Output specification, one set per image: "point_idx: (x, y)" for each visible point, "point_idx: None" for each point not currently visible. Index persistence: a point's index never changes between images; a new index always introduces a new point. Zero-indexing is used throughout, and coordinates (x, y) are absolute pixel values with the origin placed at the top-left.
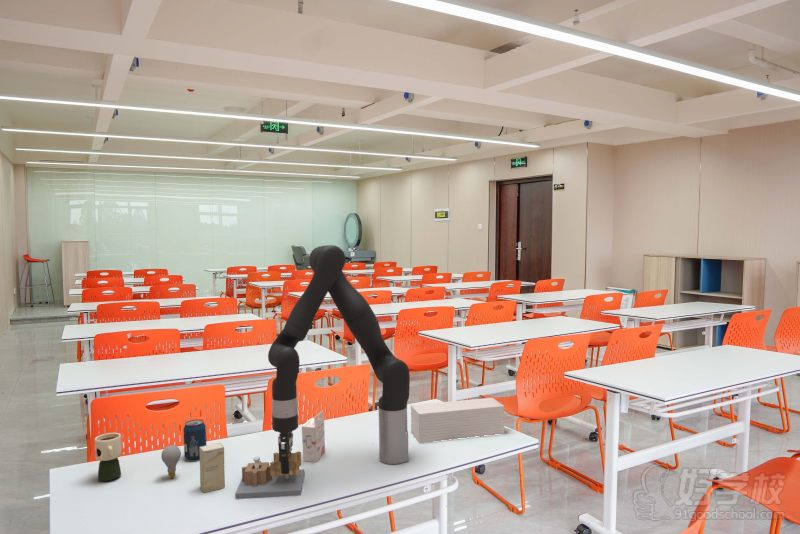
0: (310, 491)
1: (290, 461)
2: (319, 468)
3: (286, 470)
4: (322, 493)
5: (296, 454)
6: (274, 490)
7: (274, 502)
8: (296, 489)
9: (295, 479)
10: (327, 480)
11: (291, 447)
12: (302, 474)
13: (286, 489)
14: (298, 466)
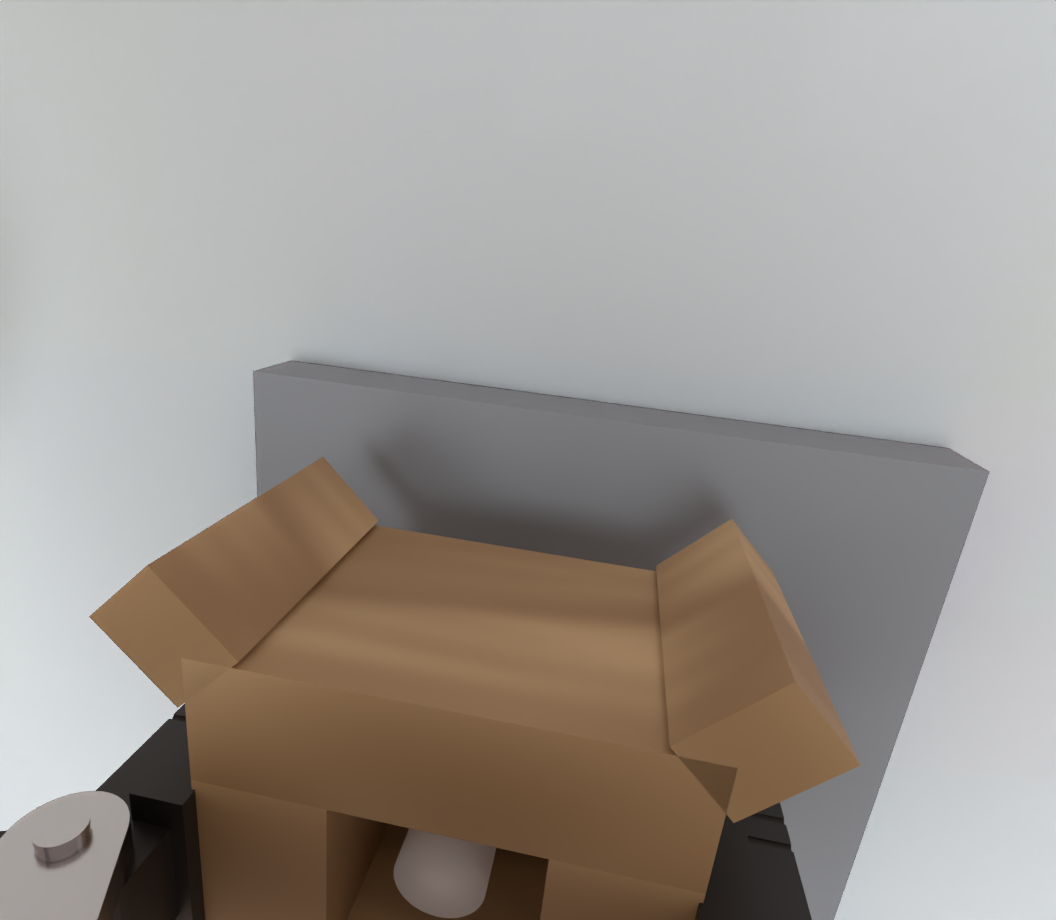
0: (872, 303)
1: (711, 863)
2: (130, 136)
3: (777, 810)
4: (1028, 106)
5: (291, 687)
6: (846, 788)
7: (1011, 754)
8: (940, 528)
9: (581, 518)
10: (560, 4)
11: (32, 883)
12: (429, 410)
13: (878, 655)
14: (778, 616)
